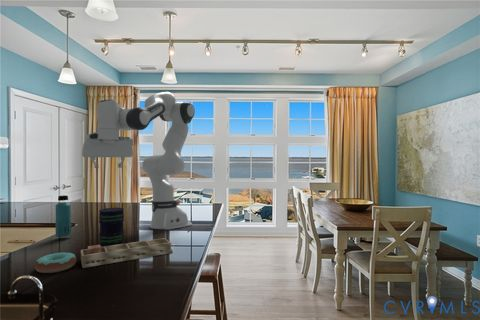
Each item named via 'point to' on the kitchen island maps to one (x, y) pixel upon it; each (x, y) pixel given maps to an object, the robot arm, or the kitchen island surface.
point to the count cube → (94, 249)
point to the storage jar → (111, 226)
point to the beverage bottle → (63, 217)
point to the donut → (55, 262)
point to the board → (126, 252)
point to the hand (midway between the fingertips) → (108, 167)
